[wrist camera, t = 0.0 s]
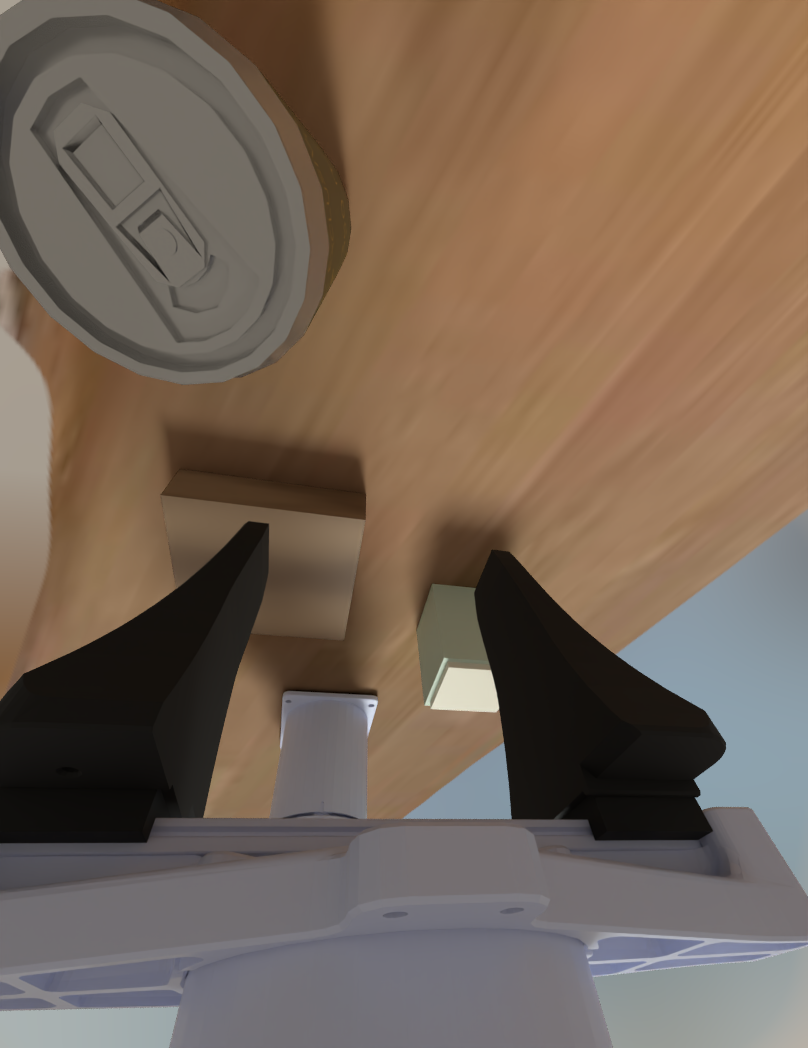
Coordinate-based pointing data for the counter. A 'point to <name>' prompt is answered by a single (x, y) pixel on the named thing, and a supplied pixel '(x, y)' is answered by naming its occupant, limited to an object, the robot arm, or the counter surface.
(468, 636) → the tea tin
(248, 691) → the counter surface
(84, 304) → the beer can
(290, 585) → the walnut block
